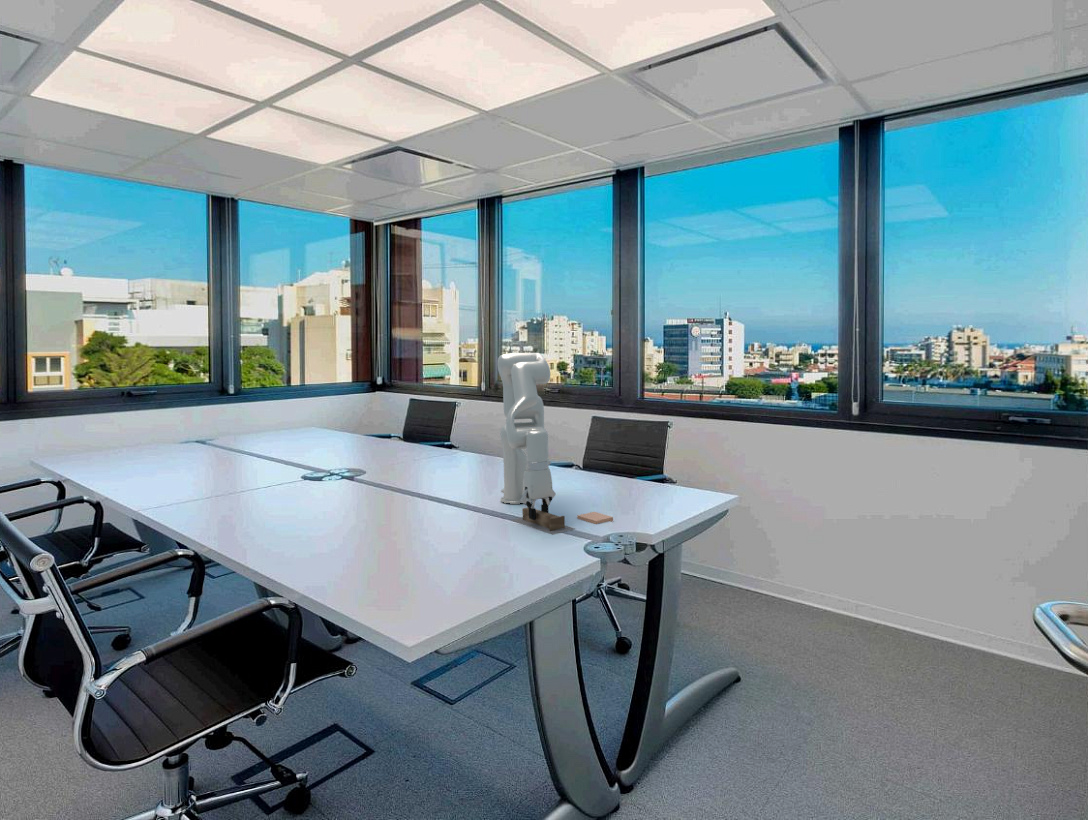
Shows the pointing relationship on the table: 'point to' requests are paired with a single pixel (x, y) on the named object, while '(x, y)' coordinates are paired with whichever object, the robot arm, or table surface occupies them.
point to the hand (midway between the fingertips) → (538, 517)
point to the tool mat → (541, 528)
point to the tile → (595, 517)
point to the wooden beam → (545, 519)
